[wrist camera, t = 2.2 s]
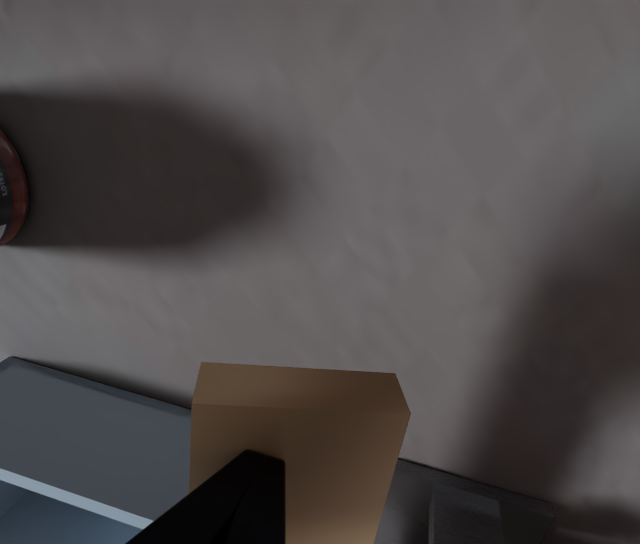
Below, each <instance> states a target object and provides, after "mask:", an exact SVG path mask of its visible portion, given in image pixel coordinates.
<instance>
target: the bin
mask: <svg viewBox="0 0 640 544" xmlns="http://www.w3.org/2000/svg"><path fill="white" fill-rule="evenodd" d="M190 440H191V410H190V409H186V408H183V407H179V406H176V405H173V404H169V403H166V402H162V401H159V400H156V399H152V398H149V397H146V396H142V395H139V394H135V393H132V392H129V391H125V390H122V389H118V388H115V387H112V386H108V385H105V384H102V383H98V382H95V381H91V380H88V379H85V378H81V377H78V376H74V375H71V374H68V373H64V372H61V371H58V370H54V369H51V368H47V367H44V366H41V365H37V364H34V363H30V362H27V361H24V360H20V359H17V358H13V357H8V358H7V359H5V360H3V361H2V362H0V544H125V543H126V542H128V541H129V540H130V539H131V538H133V537H134V536H135V535H137V534H138V533H139V532H140V531H142V530H143V529H144V528H145V527H147V526H148V525H149V524H151V523H152V522H153V521H154V520H156V519H157V518H158V517H160V516H161V515H162V514H163V513H165V512H166V511H167V510H169V509H170V508H171V507H172V506H174V505H175V504H176V503H177V502H179V501H180V500H181V499H183V498H184V497H185V496H186V495H188V494H189V472H190Z"/></svg>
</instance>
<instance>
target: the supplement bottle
mask: <svg viewBox="0 0 640 544" xmlns="http://www.w3.org/2000/svg"><path fill="white" fill-rule="evenodd" d="M26 179H27V178H26V177H25V175H24V170H23V168H22V164H21V162H20V160H19V156H18V154H17V152H16V151H15V149H14V148H13V146H12V144H11V143H10V142H9V140H8V139H7V137H6V136H5V135H4V133H3V132H2V130H1V129H0V246H2V245H4V244H6V243H7V242H9V241H10V240H11V239H13V238H14V237H15V236H16V234H17V233H18V232H19V230H20V228H21V226H22V225H23V223H24V221H25V219H26V214H27V212H28V209H27V208H28V203H29V196H28V191H27V190H28V186H27V181H26Z"/></svg>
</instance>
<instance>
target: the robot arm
mask: <svg viewBox="0 0 640 544" xmlns="http://www.w3.org/2000/svg"><path fill="white" fill-rule="evenodd" d="M125 544H286V468H285V461H284V460H283V459H280V458H277V457H274V456H270V455H265V454H263V453H260V452H257V451H254V450H250V449H247V450H244V451H243V452H241V453H240V454H239V455H238V456H236V457H235V458H234V459H233V460H231V461H230V462H229V463H227V464H226V465H225V466H224V467H222V468H221V469H220V470H218V471H217V472H216V473H215V474H213V475H212V476H211V477H209V478H208V479H207V480H206V481H204V482H203V483H202V484H201V485H199V486H198V487H197V488H195V489H194V490H193V491H192V492H190V493H189V494H188V495H186V496H185V497H184V498H183V499H181V500H180V501H179V502H177V503H176V504H175V505H174V506H172V507H171V508H170V509H169V510H167V511H166V512H165V513H163V514H162V515H161V516H160V517H158V518H157V519H156V520H154V521H153V522H152V523H151V524H149V525H148V526H147V527H145V528H144V529H143V530H142V531H140V532H139V533H138V534H137V535H135V536H134V537H133V538H131V539H130V540H129V541H128V542H126V543H125Z"/></svg>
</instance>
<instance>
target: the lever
mask: <svg viewBox="0 0 640 544" xmlns="http://www.w3.org/2000/svg"><path fill="white" fill-rule="evenodd" d="M410 414H411V413H410V410H409V408H408V405H407V403H406V400H405V397H404V395H403V392H402V390H401V387H400V385H399V382H398V379H397V377H396V374H395V373H379V372H362V371H345V370H328V369H310V368H293V367H276V366H259V365H241V364H224V363H207V362H201V366H200V370H199V374H198V379H197V383H196V387H195V391H194V396H193V400H192V408H191V440H190V472H189V493H190V492H192V491H193V490H194V489H195V488H197V487H198V486H199V485H201V484H202V483H203V482H204V481H206V480H207V479H208V478H209V477H211V476H212V475H213V474H215V473H216V472H217V471H218V470H220V469H221V468H222V467H224V466H225V465H226V464H227V463H229V462H230V461H231V460H233V459H234V458H235V457H236V456H238V455H239V454H240V453H241V452H243V451H244V450H247V449H250V450H254V451H257V452H260V453H263V454H265V455H270V456H274V457H277V458H280V459H283V460H284V461H285V468H286V544H373V543H374V540H375V536H376V533H377V529H378V526H379V522H380V519H381V515H382V512H383V508H384V505H385V501H386V498H387V494H388V491H389V487H390V484H391V480H392V477H393V473H394V470H395V467H396V463H397V460H398V456H399V453H400V449H401V446H402V442H403V439H404V435H405V432H406V428H407V425H408V421H409V418H410Z"/></svg>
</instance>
